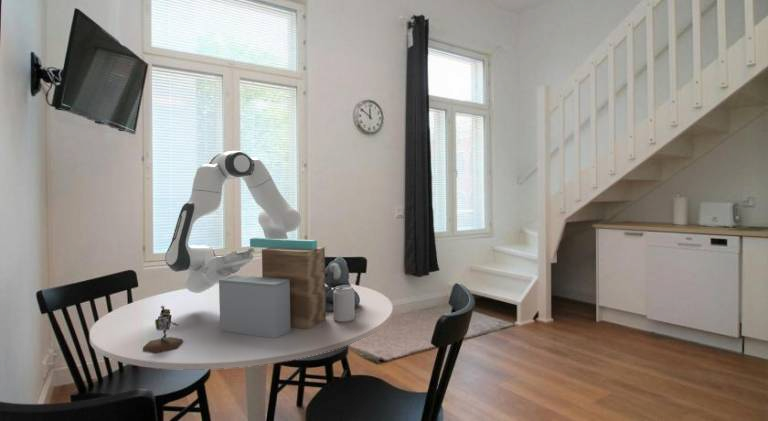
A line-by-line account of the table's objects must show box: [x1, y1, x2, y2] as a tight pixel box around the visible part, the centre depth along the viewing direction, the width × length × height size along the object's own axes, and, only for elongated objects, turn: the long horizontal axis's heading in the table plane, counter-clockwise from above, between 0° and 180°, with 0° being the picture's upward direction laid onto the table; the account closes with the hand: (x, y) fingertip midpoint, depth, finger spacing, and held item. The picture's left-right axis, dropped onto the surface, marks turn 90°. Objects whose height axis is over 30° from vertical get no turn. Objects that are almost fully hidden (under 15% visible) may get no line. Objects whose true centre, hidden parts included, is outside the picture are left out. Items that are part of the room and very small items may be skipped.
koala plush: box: [325, 256, 361, 312], centre depth 165 cm, size 17×18×20 cm
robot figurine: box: [142, 305, 184, 354], centre depth 124 cm, size 11×9×12 cm
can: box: [333, 285, 356, 323], centre depth 148 cm, size 8×8×12 cm
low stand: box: [218, 274, 291, 339], centre depth 137 cm, size 8×22×17 cm, turn 70°
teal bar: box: [249, 237, 318, 250], centre depth 148 cm, size 3×26×3 cm, turn 70°
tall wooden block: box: [261, 246, 326, 330], centre depth 147 cm, size 12×18×26 cm, turn 70°
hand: (244, 251), depth 154 cm, fingers open, 8 cm apart
